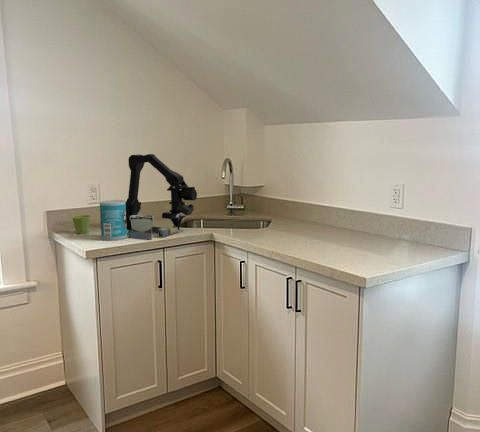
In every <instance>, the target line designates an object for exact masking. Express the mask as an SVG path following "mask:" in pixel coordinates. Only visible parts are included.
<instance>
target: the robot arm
mask: <svg viewBox="0 0 480 432" xmlns="http://www.w3.org/2000/svg"><path fill="white" fill-rule="evenodd" d="M145 163H149V164H150V165H151V166H152V167H153V168H155V170H157V172H158V173H160V174H161V175H162V176H163V177H164V178H165V180H166V182H167V183H168V184H169V187H168V188H166V191H167V192H168V191H169V192H170V201H169V202H168V203H169V204H170V207H171V208H170V209H169V211H165V212H162V213H161V219H168V220H170V221H171V223H172V224H173V226H176V227H177V228H178V230H179V231H180V227H181V224H182V222H183V219H184V218H185V217H186V216H190V215H191V216H192V213H193V212H194V211H195V208H194V207H195V206H194V204H185V203H186V202H185V201H192V202H193V201H196V200H197V197H198V192H197V190H196V188H195V186H188V184H187V183H186V181H185V180H184V179H185V178H184V176H183V175H182V174H180V173H179V172H176V171H174V170H172V169H171V168H170V167H168V166H167V165H166V164H165V163H164V162H162V161H161V160H160V159H159V158H158V157H157V156H156V155H155V154H154V153H149V154H145V155H144V154H139V153H138V154H131V155H130V156H128V168H129V170H130V175H129V185H128V186H129V187H128V197H127V199H126V200H125V203H126V223H127V231H129V230H131V229H132V227H131V220H129V219H130V216H132V215H139V212H140V210H141V207H142V202H141V201H139V198H138V196H139V188H140V186H139V185H140V179H141V172H142V170H143V168H144V165H145Z"/></svg>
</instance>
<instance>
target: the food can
mask: <svg viewBox="0 0 480 432" xmlns="http://www.w3.org/2000/svg"><path fill="white" fill-rule="evenodd" d="M125 202H126V200H122V199H109V200H108V199H107V200H101V201H100V202H99V214H100V215H99V217H100V232H101V233H100V234H101V235H100V236H101V240H103V241H105V242H106V241H109V242H113V241H114V242H115V241H116V242H117V241H123V240H126V239H127V238H128V230H127V223H126V203H125Z"/></svg>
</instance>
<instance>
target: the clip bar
mask: <svg viewBox="0 0 480 432" xmlns="http://www.w3.org/2000/svg"><path fill="white" fill-rule="evenodd" d="M168 228H169V229H168V235H169V234H172V233H176V232H178V228H177V227H176V226H174V225H172V227H171V228H170V227H168Z"/></svg>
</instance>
